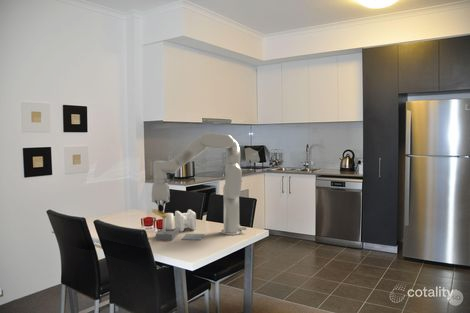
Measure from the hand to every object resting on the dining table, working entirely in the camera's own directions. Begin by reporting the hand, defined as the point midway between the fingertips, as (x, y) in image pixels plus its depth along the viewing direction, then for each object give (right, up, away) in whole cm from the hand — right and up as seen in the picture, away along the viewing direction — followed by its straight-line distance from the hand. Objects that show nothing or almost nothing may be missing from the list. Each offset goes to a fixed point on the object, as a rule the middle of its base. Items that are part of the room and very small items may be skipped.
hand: (161, 211), depth 227 cm
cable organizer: (+13, -14, +12) cm, 22 cm away
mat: (+20, -14, -6) cm, 25 cm away
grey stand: (+5, -14, -5) cm, 16 cm away
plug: (+5, -14, -2) cm, 15 cm away
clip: (0, -1, -6) cm, 6 cm away
